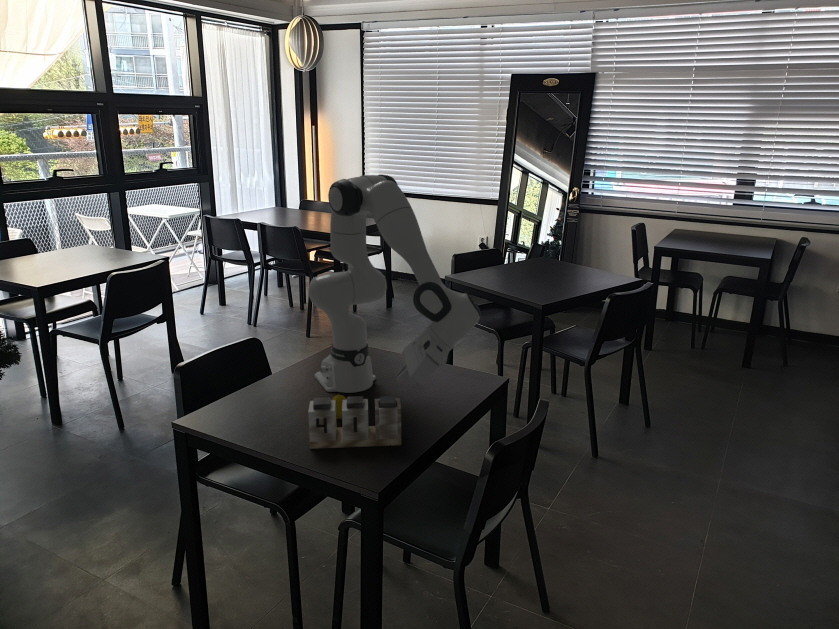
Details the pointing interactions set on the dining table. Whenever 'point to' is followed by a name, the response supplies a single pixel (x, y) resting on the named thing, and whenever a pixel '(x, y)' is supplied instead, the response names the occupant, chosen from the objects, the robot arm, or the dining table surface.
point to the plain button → (387, 401)
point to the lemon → (339, 405)
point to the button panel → (353, 424)
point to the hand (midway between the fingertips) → (397, 379)
